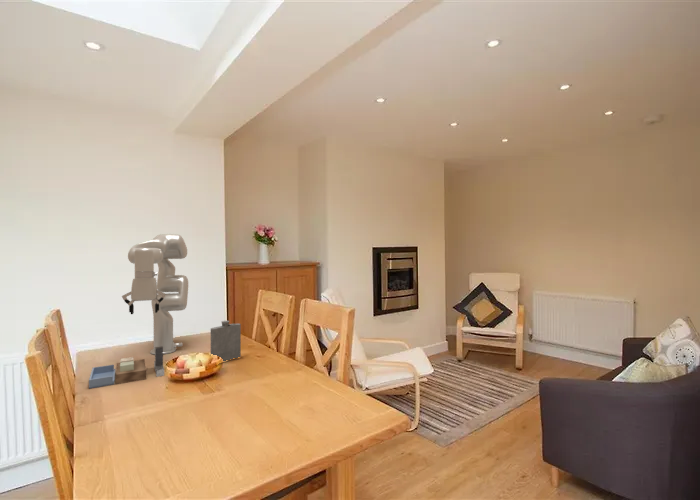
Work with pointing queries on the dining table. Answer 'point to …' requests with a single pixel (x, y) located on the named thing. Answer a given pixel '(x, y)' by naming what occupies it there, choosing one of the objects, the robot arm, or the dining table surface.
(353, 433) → the dining table surface
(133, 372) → the walnut board
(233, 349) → the hip flask
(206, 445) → the dining table surface
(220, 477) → the dining table surface
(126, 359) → the cream tile
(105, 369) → the slate blue box
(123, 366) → the sage tile
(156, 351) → the scraper
